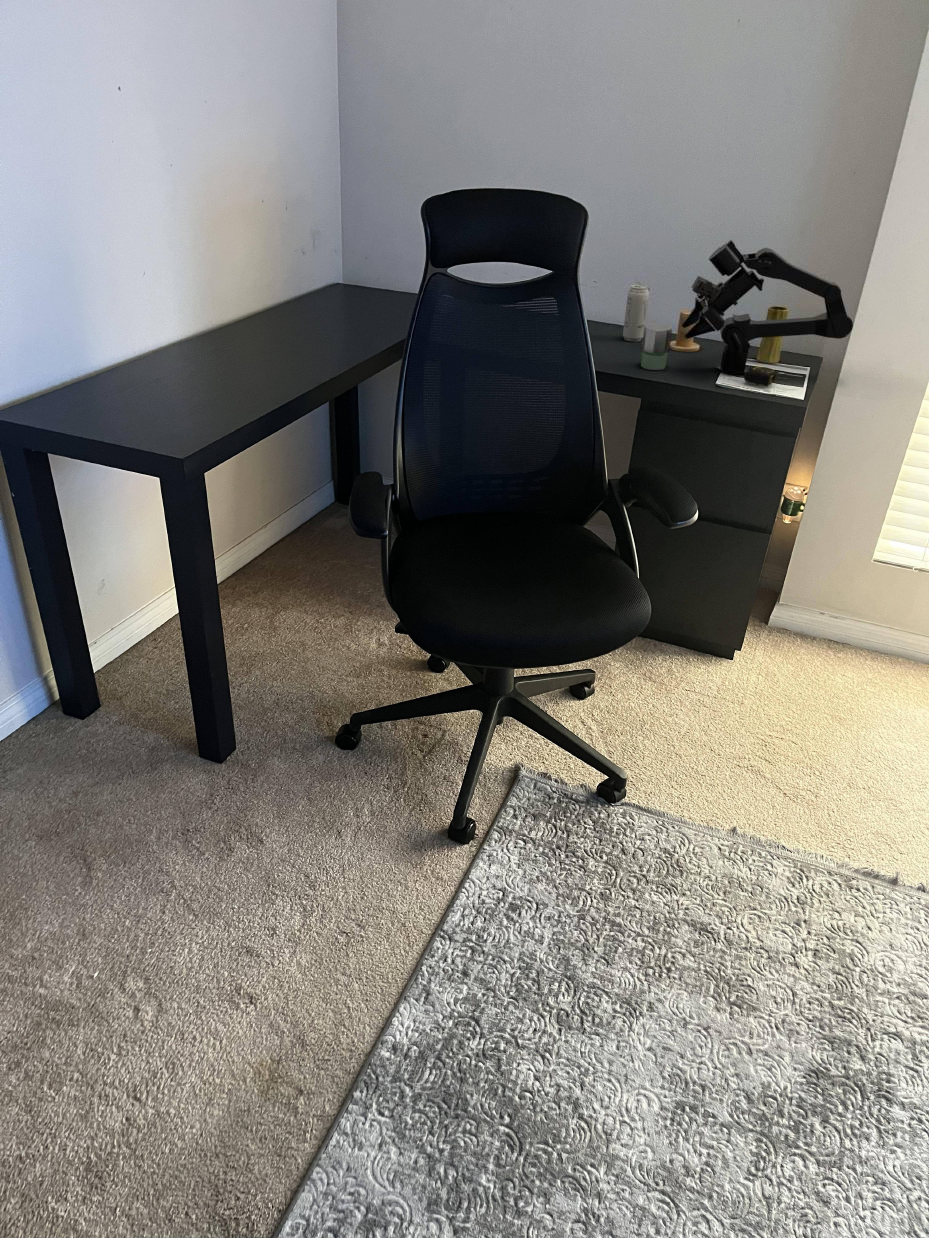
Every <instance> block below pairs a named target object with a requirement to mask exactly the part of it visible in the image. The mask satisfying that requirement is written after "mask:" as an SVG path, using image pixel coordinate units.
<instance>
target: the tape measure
mask: <svg viewBox="0 0 929 1238" xmlns="http://www.w3.org/2000/svg"><path fill="white" fill-rule="evenodd" d="M743 375H744V376H743V379H744V381H745V382H746V383H750V384H752V385H754V386H763V387H769V386H770V385H772V384H773V383H774V381H775V380H776V378H777V374H776V373H775V370H774V369H773V368H770V367H766V366H751V367H749V369H748V370H747V372H746V373H745V374H743Z"/></svg>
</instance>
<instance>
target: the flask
mask: <svg viewBox="0 0 929 1238" xmlns="http://www.w3.org/2000/svg"><path fill="white" fill-rule="evenodd" d="M667 359H668V352H667V353H662V354H656V353H648V352H645V351H643V350H642V353H641V360H640V367H641V368H643V369H646V370H650V371H661V370H664V369H666V366H667Z"/></svg>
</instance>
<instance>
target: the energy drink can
mask: <svg viewBox="0 0 929 1238" xmlns="http://www.w3.org/2000/svg"><path fill="white" fill-rule="evenodd" d="M648 288H649V287H648V286H647V285H645V284H644V285H643V284H632V285H630V288H629V290H628V291H627V296H626V306H625V314H624V323H623V331H622V336H623V339H624V340H625V341H627V342H640V341H642V339H643V332H644V326H645V325H646V320H647V319H646V318H647V310H648V303H649V296H650V291H649V290H648Z"/></svg>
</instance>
